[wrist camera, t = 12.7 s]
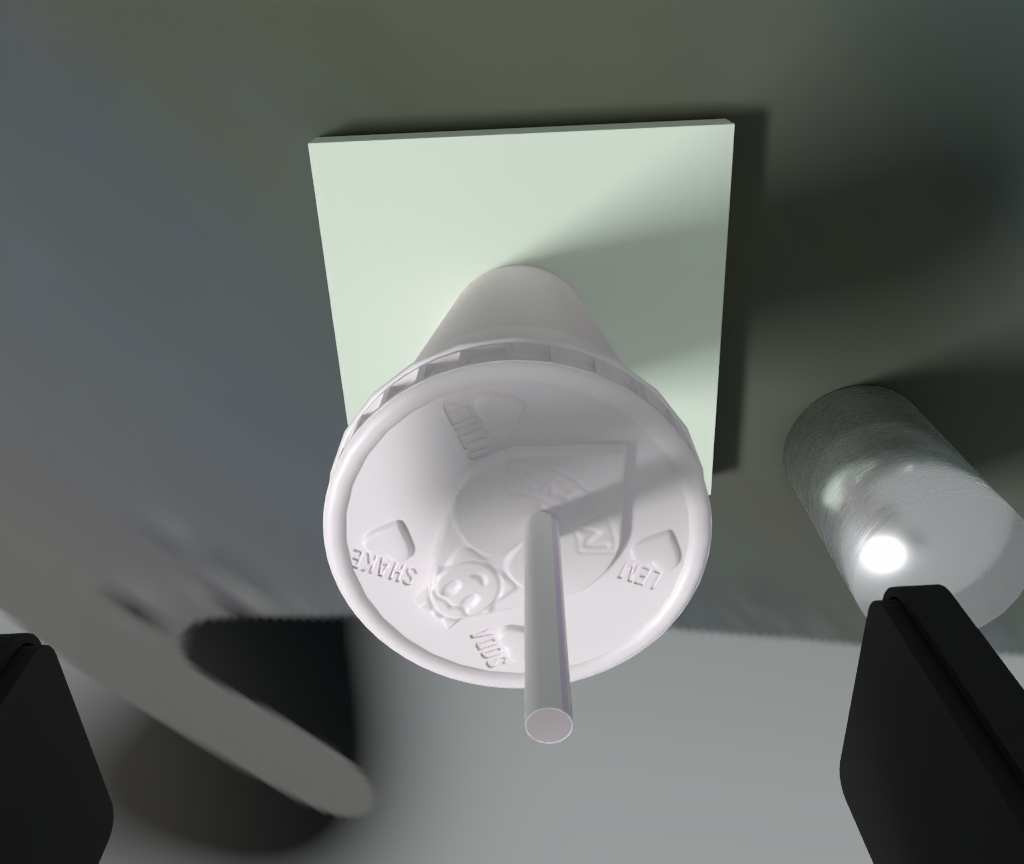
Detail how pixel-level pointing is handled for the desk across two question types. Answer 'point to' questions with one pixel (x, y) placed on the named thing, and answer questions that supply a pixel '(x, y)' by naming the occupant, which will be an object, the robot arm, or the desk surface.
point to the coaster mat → (534, 242)
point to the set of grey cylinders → (902, 503)
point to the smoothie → (518, 501)
